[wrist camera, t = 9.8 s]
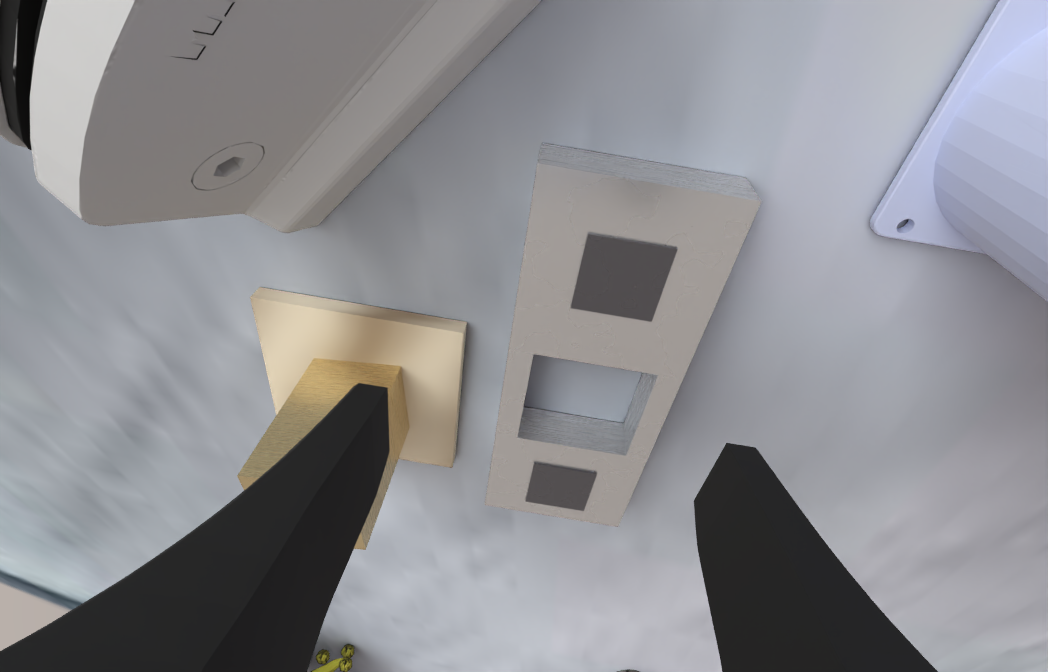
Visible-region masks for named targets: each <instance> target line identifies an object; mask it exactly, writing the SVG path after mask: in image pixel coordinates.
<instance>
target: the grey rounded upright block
mask: <svg viewBox="0 0 1048 672" xmlns="http://www.w3.org/2000/svg"><path fill="white" fill-rule="evenodd" d="M541 1H542V0H0V135H1V136H2V137H3V138H4V139H5V140H7V141H9V142H10V143H12V144H15V145H18V146H22V147H27V148H28V149H30V150H32V155H33V162H34V169H35V176H36V178H37V180H38V182H39V183H40V184H41V185H42V186H43V187H44V188H45V189H47V190H48V191H49V192H50V193H51V194H52V195H54V196H55V197H56V198H57V199H58V200H60V201H61V202H62V203H63V204H64V205H66V206H67V207H68V208H69V209H70V210H71V211H73V212H74V213H75V214H76V215H77V216H79V217H80V218H81V219H82V220H84V221H85V222H87V223H88V224H92V225H98V226H112V225H123V224H134V223H145V222H155V221H166V220H177V219H188V218H198V217H209V216H220V215H231V214H246V215H249V216H251V217H253V218H255V219H257V220H259V221H261V222H263V223H265V224H267V225H269V226H271V227H273V228H274V229H276V230H278V231H281V232H284V233H290V232H294V231H298V230H302V229H306V228H310V227H315V226H318V225H319V224H320V223H321V222H322V221H323V220H324V219H325V218H326V217H327V216H328V215H329V214H330V213H331V212H332V211H333V210H334V209H335V208H336V207H337V206H338V205H339V204H340V203H341V202H342V201H343V200H344V199H345V198H346V197H347V196H348V195H349V194H350V193H351V192H352V191H353V190H354V189H355V188H356V187H357V186H358V185H359V184H360V183H361V182H362V181H363V179H364V178H365V177H366V176H367V175H368V174H369V173H370V172H371V171H372V170H373V169H374V168H375V167H376V166H377V165H378V164H379V163H380V162H381V161H382V160H383V159H384V158H385V157H386V156H387V155H388V154H389V153H390V152H391V151H392V150H393V149H394V148H395V147H396V146H397V145H398V144H399V143H400V142H401V141H402V140H403V139H404V138H405V137H406V136H407V135H408V134H409V133H410V132H411V131H412V130H413V129H414V128H415V127H416V126H417V125H418V124H419V123H420V122H421V121H422V120H423V119H424V118H425V117H426V116H427V115H428V114H429V113H430V112H431V111H432V110H433V109H434V108H435V107H436V106H437V105H438V104H439V103H440V102H441V101H442V100H443V99H444V98H445V97H446V96H447V95H448V94H449V93H450V92H451V91H452V90H453V89H454V88H455V87H456V86H457V85H458V84H459V83H460V82H461V81H462V80H463V79H464V78H465V77H466V76H467V75H468V74H469V73H470V72H471V71H472V70H473V69H474V68H475V67H476V66H477V65H478V64H479V63H480V62H481V61H482V60H483V59H484V58H485V57H486V56H487V55H488V54H489V53H490V52H491V51H492V50H493V49H494V48H495V47H496V46H497V45H498V44H499V43H500V42H501V41H502V40H503V39H504V38H505V37H506V36H507V35H508V34H509V33H510V32H511V31H512V30H513V29H514V28H515V27H516V26H517V25H518V24H519V23H520V22H521V21H522V20H523V19H524V18H525V17H526V16H527V15H528V14H529V13H530V12H531V11H532V10H533V9H534V8H535V7H536V6H537V5H538V4H539V3H540V2H541Z"/></svg>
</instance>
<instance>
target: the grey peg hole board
mask: <svg viewBox="0 0 1048 672" xmlns="http://www.w3.org/2000/svg"><path fill="white" fill-rule="evenodd" d="M761 202H762V201H761V200H760V198H759V197H758V195H757V194H756V192H755V191H754V189H753V188H752V186H751V185H750V183H749V182H748V180H747V179H746V178H744V177H738V176H733V175H727V174H721V173H715V172H709V171H703V170H698V169H692V168H686V167H680V166H674V165H668V164H662V163H657V162H651V161H645V160H639V159H633V158H627V157H622V156H616V155H610V154H604V153H598V152H592V151H587V150H581V149H575V148H569V147H563V146H557V145H551V144H546V143H542V144H541V149H540V154H539V158H538V163H537V169H536V175H535V182H534V188H533V195H532V201H531V208H530V214H529V221H528V227H527V234H526V240H525V247H524V253H523V260H522V266H521V273H520V279H519V286H518V292H517V298H516V305H515V311H514V318H513V324H512V331H511V337H510V344H509V350H508V357H507V363H506V370H505V376H504V383H503V389H502V396H501V402H500V409H499V415H498V422H497V428H496V434H495V441H494V447H493V454H492V460H491V467H490V473H489V480H488V486H487V493H486V499H485V505H488V506H495V507H501V508H507V509H513V510H519V511H525V512H531V513H537V514H543V515H549V516H555V517H561V518H567V519H573V520H579V521H585V522H591V523H597V524H603V525H609V526H615V527H618V526H619V523H620V521H621V519H622V517H623V514H624V512H625V510H626V507H627V505H628V503H629V501H630V498H631V496H632V494H633V492H634V489H635V487H636V485H637V483H638V480H639V478H640V476H641V474H642V471H643V469H644V467H645V464H646V462H647V460H648V458H649V455H650V453H651V451H652V449H653V446H654V444H655V442H656V440H657V437H658V435H659V433H660V431H661V428H662V426H663V424H664V421H665V419H666V417H667V415H668V412H669V410H670V408H671V406H672V403H673V401H674V399H675V397H676V394H677V392H678V390H679V388H680V385H681V383H682V381H683V378H684V376H685V374H686V372H687V369H688V367H689V365H690V363H691V360H692V358H693V356H694V354H695V351H696V349H697V347H698V344H699V342H700V340H701V338H702V335H703V333H704V331H705V329H706V326H707V324H708V322H709V320H710V317H711V315H712V313H713V311H714V308H715V306H716V304H717V301H718V299H719V297H720V295H721V292H722V290H723V288H724V286H725V283H726V281H727V279H728V277H729V274H730V272H731V270H732V268H733V265H734V263H735V261H736V258H737V256H738V254H739V252H740V249H741V247H742V245H743V243H744V240H745V238H746V236H747V234H748V231H749V229H750V227H751V225H752V222H753V220H754V218H755V215H756V213H757V211H758V209H759V206H760V204H761ZM533 354H536V355H542V356H548V357H554V358H560V359H566V360H572V361H578V362H584V363H590V364H596V365H602V366H608V367H614V368H620V369H625V370H631V371H637V372H643V373H642V375H641V378H640V381H639V383H638V386H637V389H636V391H635V394H634V397H633V399H632V402H631V405H630V408H629V410H628V413H627V416H626V418H625V421H624V423H618V422H612V421H606V420H600V419H594V418H588V417H582V416H576V415H570V414H564V413H558V412H552V411H546V410H540V409H534V408H528V407H523V406H524V401H525V396H526V390H527V385H528V380H529V375H530V370H531V365H532V360H533Z"/></svg>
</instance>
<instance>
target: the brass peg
mask: <svg viewBox="0 0 1048 672" xmlns="http://www.w3.org/2000/svg"><path fill="white" fill-rule="evenodd" d="M358 383H363V384H369V385H375V386H381V387H387V388H388V415H389V447H390V452H389V455H388V459H387V462H386V465H385V469H384V472H383V476H382V479H381V482H380V485H379V489H378V492H377V495H376V498H375V500H374V502H373V505H372V507H371V509H370V512H369V514H368V517H367V519H366V521H365V524H364V526H363V528H362V531H361V533H360V535H359V538H358V540H357V542H356V544H355V547H354V549H363V550H366V547H367V544H368V542H369V539H370V536H371V533H372V531H373V528H374V525H375V522H376V520H377V517H378V514H379V511H380V508H381V506H382V503H383V500H384V497H385V495H386V492H387V489H388V486H389V484H390V481H391V478H392V475H393V472H394V470H395V467H396V464H397V461H398V459H399V456H400V453H401V450H402V448H403V445H404V442H405V439H406V437H407V434H408V431H409V428H410V426H409V419H408V412H407V405H406V398H405V391H404V384H403V377H402V370H401V366H396V365H385V364H374V363H363V362H351V361H340V360H329V359H318V358H313V360H312V361H311V363H310V365H309V366H308V368H307V369H306V371H305V372H304V374H303V375H302V377H301V378H300V380H299V382H298V383H297V385H296V386H295V388H294V389H293V391H292V392H291V394H290V395H289V397H288V398H287V400H286V402H285V403H284V405H283V406H282V408H281V409H280V411H279V412H278V414H277V415H276V417H275V418H274V420H273V422H272V423H271V425H270V426H269V428H268V429H267V431H266V432H265V434H264V435H263V437H262V439H261V440H260V442H259V443H258V445H257V446H256V448H255V449H254V451H253V452H252V454H251V455H250V457H249V459H248V460H247V462H246V463H245V465H244V466H243V468H242V469H241V471H240V472H239V474H238V475H237V476H238V478H239V480H240V483H241V485H242V487H243V489H244V490H245V489H247V488H248V487H249V486H250V485H251V484H252V483H254V482H255V481H256V480H257V479H258V478H259V477H261V476H262V475H263V474H264V473H265V472H266V471H268V470H269V469H270V468H271V467H272V466H273V465H275V464H276V463H277V462H278V461H279V460H280V459H281V458H282V457H283V456H284V455H286V454H287V453H288V452H289V451H290V450H291V449H292V448H293V447H294V446H295V445H296V444H297V443H298V442H299V441H300V440H301V439H302V438H304V437H305V436H306V435H307V434H308V433H309V432H310V431H311V430H312V429H313V428H314V427H315V426H316V425H317V424H318V423H319V422H320V421H321V420H322V419H323V418H324V417H325V416H326V415H327V414H328V413H329V412H330V411H331V410H332V409H333V408H334V407H335V406H336V405H337V403H338V402H339V401H340V400H341V399H342V398H343V397H344V396H345V395H346V394H347V393H348V392H349V391H350V390H351V388H352V387H353V386H355V385H356V384H358Z"/></svg>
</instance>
